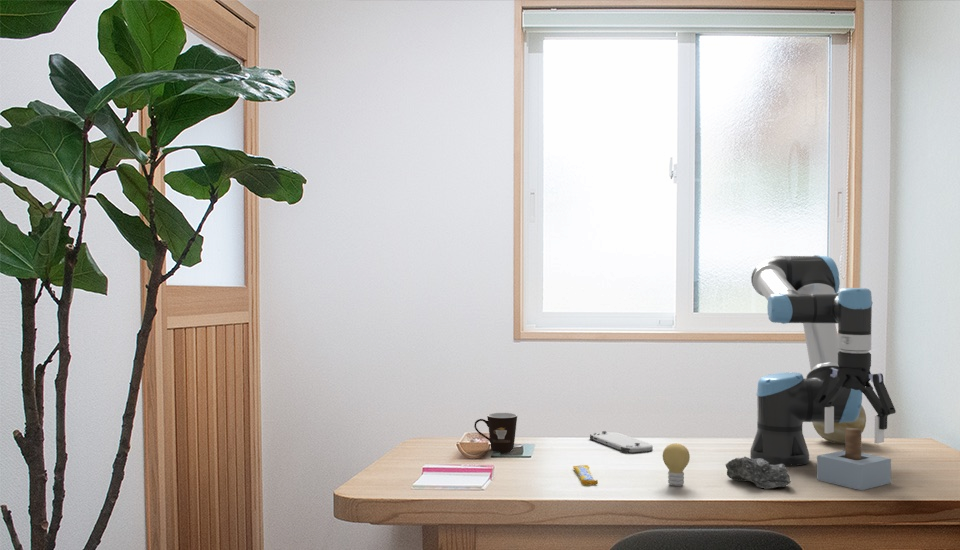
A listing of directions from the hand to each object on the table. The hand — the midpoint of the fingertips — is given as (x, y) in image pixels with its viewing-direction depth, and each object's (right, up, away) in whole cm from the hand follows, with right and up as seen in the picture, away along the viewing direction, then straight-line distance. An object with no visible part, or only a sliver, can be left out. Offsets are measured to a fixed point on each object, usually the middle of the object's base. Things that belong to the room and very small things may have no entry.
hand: (853, 437), depth 218 cm
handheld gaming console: (-50, -11, +43) cm, 67 cm away
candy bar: (-65, -11, +5) cm, 66 cm away
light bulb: (-44, -11, -3) cm, 46 cm away
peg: (0, -10, 0) cm, 10 cm away
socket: (0, -11, 0) cm, 11 cm away
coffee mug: (-87, -10, +37) cm, 95 cm away
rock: (-24, -11, -2) cm, 26 cm away
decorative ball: (+14, -10, +45) cm, 48 cm away
